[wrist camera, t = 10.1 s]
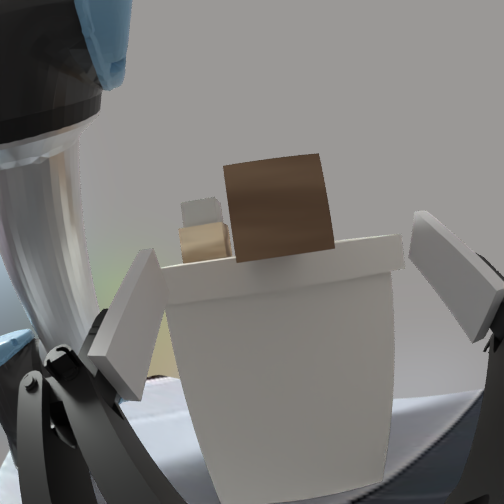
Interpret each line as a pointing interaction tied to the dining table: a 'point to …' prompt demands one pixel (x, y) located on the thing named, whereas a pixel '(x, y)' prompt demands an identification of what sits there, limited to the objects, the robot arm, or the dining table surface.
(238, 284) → the cream stand
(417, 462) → the dining table surface
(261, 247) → the walnut block
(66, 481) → the robot arm
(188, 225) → the grey offcut
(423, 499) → the dining table surface
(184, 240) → the birch offcut
